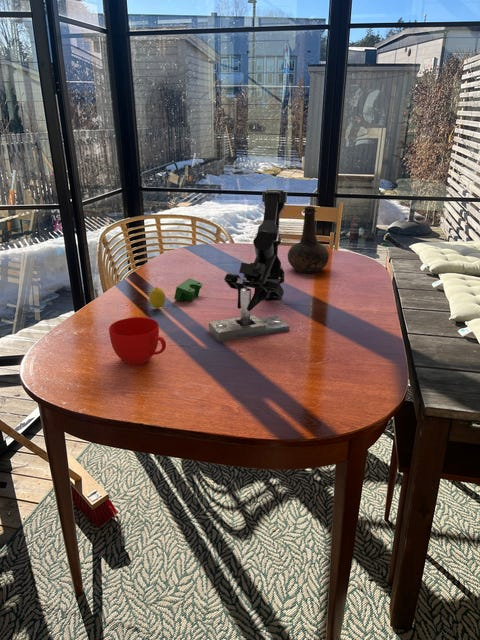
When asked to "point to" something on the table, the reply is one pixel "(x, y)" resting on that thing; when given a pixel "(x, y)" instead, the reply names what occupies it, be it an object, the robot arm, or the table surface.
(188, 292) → the clamp
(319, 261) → the glass bottle
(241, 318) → the steel pin
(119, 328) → the ceramic cup
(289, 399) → the table surface
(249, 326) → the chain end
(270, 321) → the plate
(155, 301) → the lemon
